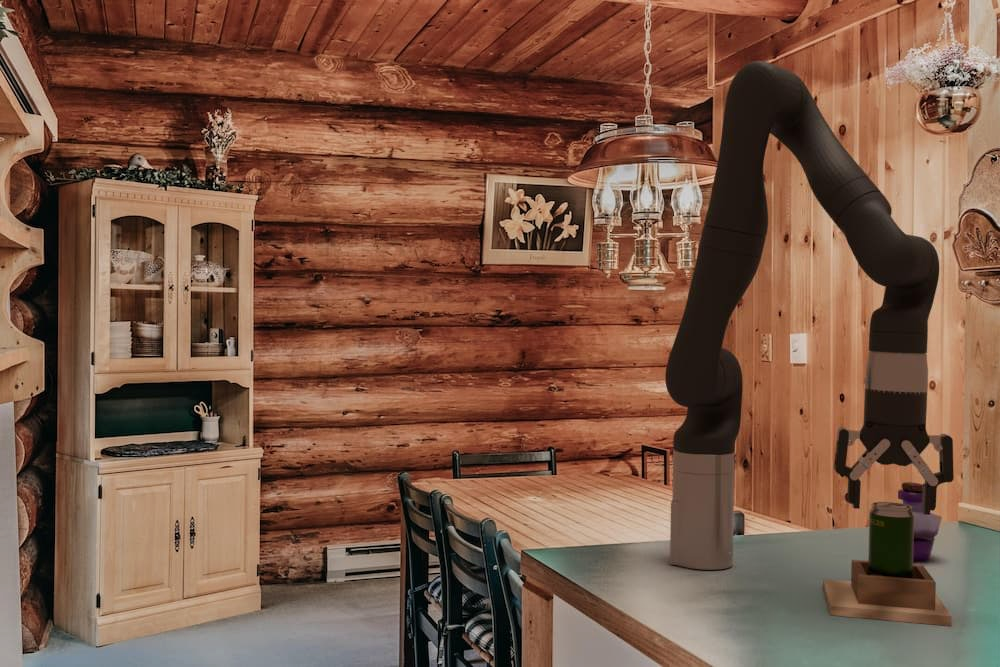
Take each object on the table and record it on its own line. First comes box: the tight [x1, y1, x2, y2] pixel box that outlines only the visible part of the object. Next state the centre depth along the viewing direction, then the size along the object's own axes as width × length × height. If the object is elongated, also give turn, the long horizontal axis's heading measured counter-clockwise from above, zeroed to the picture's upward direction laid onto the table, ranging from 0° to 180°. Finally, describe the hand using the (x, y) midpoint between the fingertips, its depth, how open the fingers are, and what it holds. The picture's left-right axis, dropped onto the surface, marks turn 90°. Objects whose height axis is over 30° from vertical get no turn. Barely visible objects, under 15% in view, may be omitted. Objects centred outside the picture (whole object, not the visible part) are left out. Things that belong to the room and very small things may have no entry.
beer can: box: [868, 501, 914, 579], centre depth 122 cm, size 5×5×12 cm
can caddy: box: [822, 559, 953, 627], centre depth 122 cm, size 14×13×5 cm
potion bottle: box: [897, 481, 942, 564], centre depth 148 cm, size 9×9×12 cm
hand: (890, 510), depth 122 cm, fingers open, 8 cm apart
